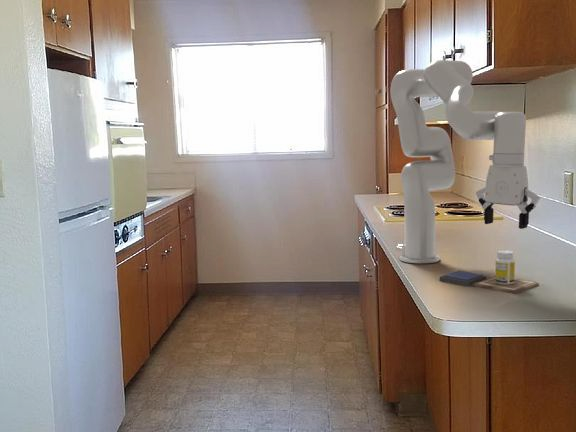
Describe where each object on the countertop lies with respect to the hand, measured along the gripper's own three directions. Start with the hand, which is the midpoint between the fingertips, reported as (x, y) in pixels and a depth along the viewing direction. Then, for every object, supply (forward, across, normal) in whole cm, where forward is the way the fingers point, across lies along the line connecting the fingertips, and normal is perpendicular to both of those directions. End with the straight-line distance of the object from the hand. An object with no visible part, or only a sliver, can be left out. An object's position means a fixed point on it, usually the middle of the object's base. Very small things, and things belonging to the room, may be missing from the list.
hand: (505, 225), depth 159 cm
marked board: (+16, +1, 0) cm, 16 cm away
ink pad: (+16, -10, -3) cm, 19 cm away
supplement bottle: (+16, +1, 0) cm, 16 cm away
